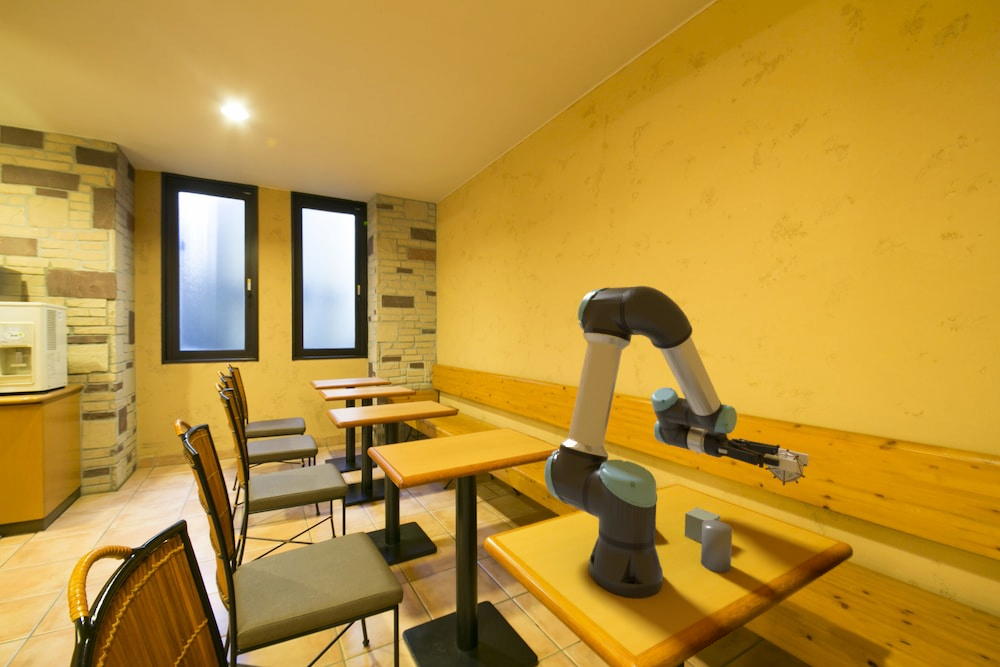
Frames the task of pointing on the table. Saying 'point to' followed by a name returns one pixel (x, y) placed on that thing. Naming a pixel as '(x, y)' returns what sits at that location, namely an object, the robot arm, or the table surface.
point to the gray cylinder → (716, 546)
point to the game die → (787, 475)
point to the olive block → (697, 522)
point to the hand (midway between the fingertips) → (802, 463)
